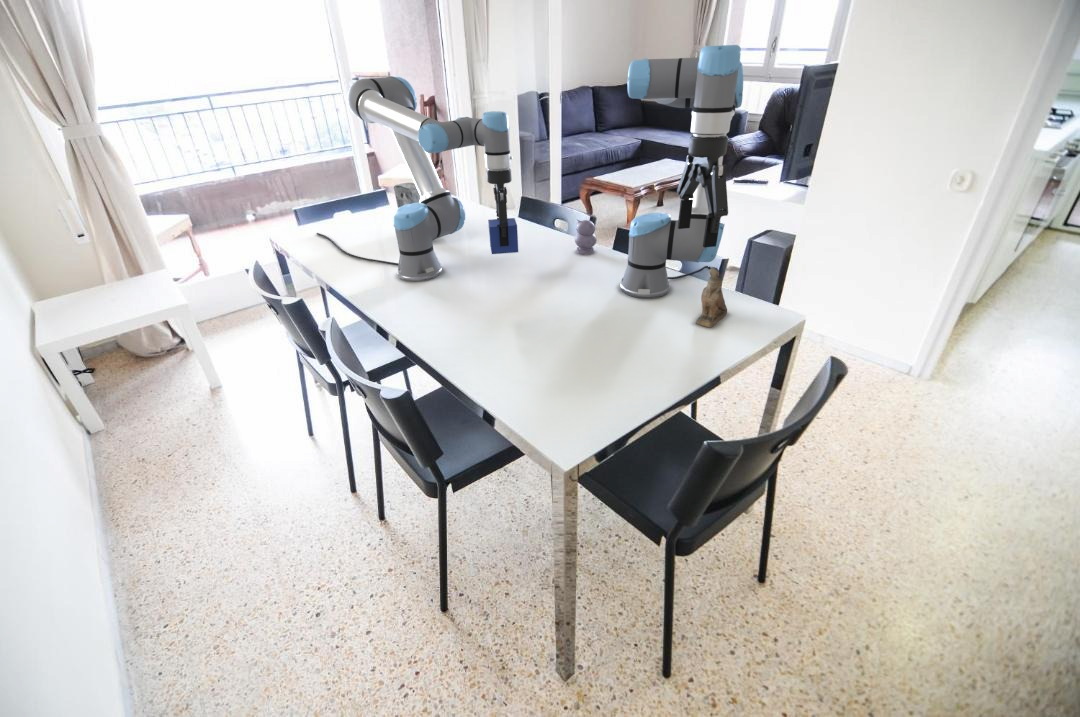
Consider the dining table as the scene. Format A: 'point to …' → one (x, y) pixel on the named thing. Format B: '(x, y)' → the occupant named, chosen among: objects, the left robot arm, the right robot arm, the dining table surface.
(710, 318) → the worn brown figurine
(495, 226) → the block
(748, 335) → the dining table surface
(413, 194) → the concrete block
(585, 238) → the grey owl figurine
